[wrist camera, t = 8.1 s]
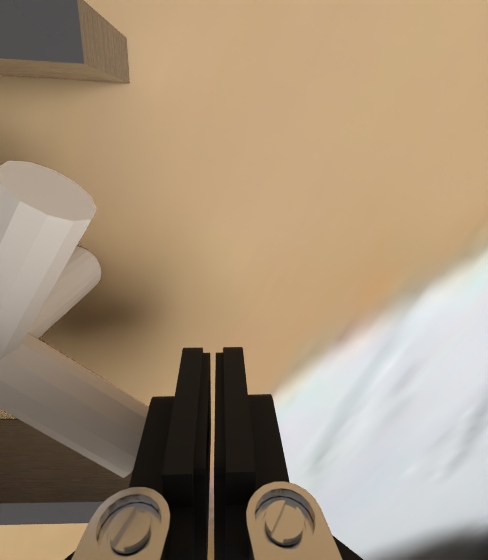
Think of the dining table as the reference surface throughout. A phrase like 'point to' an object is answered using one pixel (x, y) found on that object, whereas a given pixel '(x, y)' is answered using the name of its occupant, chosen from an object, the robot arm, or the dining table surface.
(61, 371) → the pipe connector
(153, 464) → the robot arm
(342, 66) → the dining table surface
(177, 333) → the dining table surface
